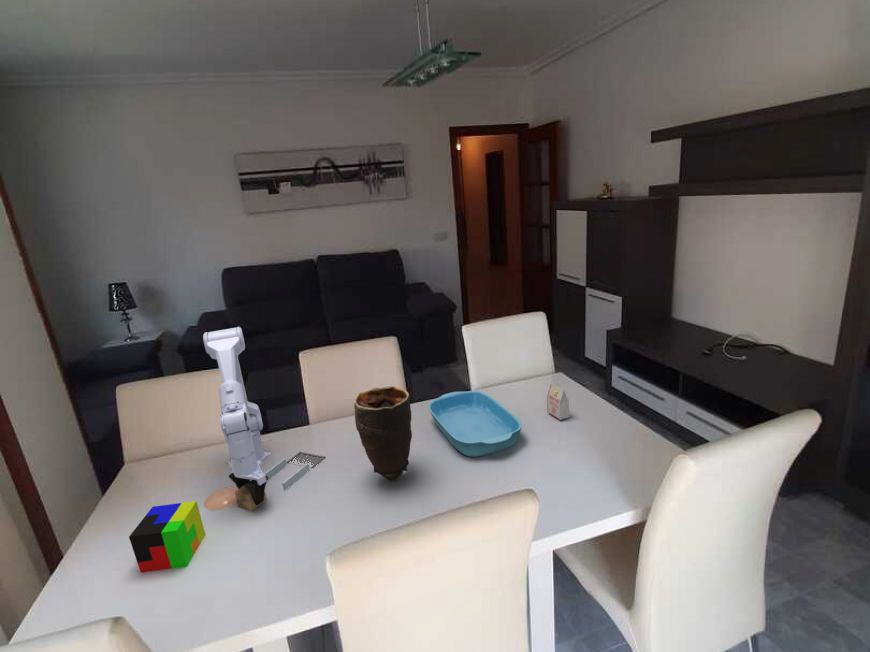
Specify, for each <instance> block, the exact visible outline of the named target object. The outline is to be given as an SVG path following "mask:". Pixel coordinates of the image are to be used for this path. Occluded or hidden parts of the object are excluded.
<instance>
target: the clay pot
mask: <svg viewBox="0 0 870 652" xmlns="http://www.w3.org/2000/svg"><path fill="white" fill-rule="evenodd" d="M353 400H354V401H353V403H354V421H355V422H354V424H355V429H356V430H357V432H358V435H359V437H360V438H359V439H360V442H361V445H362V447H363V448H364V450H365V454H366V456H367V458H368V460H369V462H370V463H371V465H372V467H373V473H374V474H375V473H377V474H379V475H380V476H381V477H382V478H384V479H385V480H386V481H387V482H394V481H396V480H398V479H399V478H400V477H401V475H403V473H404V472H408V466H409V464H410V462H409V457H410V451H411V442H412V437H413V431H412V409H411V401H410V400H411V399H410V394H409V392H408V391H407V390H406V389H404V388H403V387H399V386H396V385H395V384H388V385H387V384H386V385H380V386H379V385H378V386H375V387H372V388H368V389H364V390H361V391H359V393H357V395H356V396H355V397H354V399H353Z"/></svg>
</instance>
